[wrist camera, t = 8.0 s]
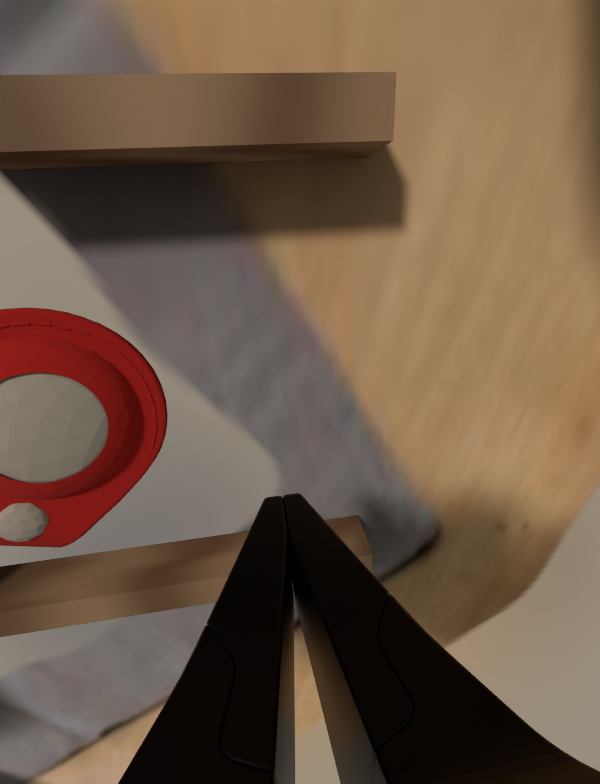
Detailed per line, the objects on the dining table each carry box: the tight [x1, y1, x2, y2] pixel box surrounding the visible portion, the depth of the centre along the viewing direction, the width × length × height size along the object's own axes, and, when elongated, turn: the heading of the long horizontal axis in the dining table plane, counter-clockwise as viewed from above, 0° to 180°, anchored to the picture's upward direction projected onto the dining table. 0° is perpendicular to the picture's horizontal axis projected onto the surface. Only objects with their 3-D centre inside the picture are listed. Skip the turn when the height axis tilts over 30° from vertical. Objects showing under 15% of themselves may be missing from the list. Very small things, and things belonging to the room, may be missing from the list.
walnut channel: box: [0, 72, 396, 637], centre depth 13 cm, size 18×19×2 cm
